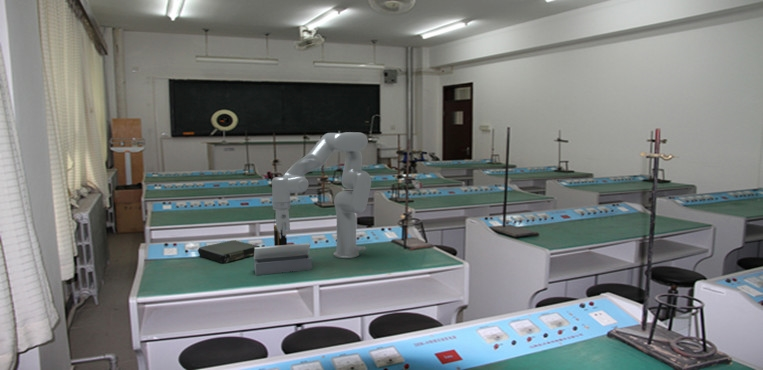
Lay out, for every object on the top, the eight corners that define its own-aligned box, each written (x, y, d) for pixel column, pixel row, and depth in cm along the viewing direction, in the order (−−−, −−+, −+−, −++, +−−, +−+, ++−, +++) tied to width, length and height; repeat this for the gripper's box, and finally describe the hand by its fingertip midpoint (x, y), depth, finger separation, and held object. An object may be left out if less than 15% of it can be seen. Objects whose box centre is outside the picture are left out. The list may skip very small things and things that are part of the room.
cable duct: (308, 265, 218) (308, 254, 217) (312, 269, 211) (311, 258, 211) (254, 270, 210) (254, 259, 209) (256, 275, 203) (255, 263, 202)
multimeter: (290, 254, 236) (289, 214, 234) (271, 253, 238) (270, 213, 236) (300, 247, 251) (300, 209, 248) (283, 246, 253) (282, 208, 250)
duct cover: (308, 255, 218) (307, 253, 219) (310, 244, 212) (310, 242, 212) (253, 260, 210) (253, 258, 210) (254, 249, 203) (254, 247, 204)
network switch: (227, 265, 218) (227, 255, 217) (193, 258, 230) (192, 248, 229) (264, 254, 238) (263, 244, 237) (230, 248, 250) (230, 238, 249)
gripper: (293, 207, 202) (294, 250, 204) (287, 202, 216) (289, 242, 218) (274, 208, 199) (276, 251, 202) (270, 203, 213) (272, 243, 216)
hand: (282, 246), depth 210 cm, fingers closed
